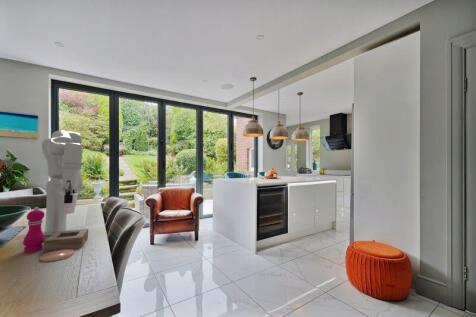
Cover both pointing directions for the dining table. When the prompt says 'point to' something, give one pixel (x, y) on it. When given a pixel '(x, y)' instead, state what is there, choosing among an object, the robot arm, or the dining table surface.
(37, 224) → the pepper mill
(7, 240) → the dining table surface
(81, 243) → the bottle holder
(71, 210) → the smoothie
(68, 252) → the tan round disc
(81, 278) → the dining table surface
